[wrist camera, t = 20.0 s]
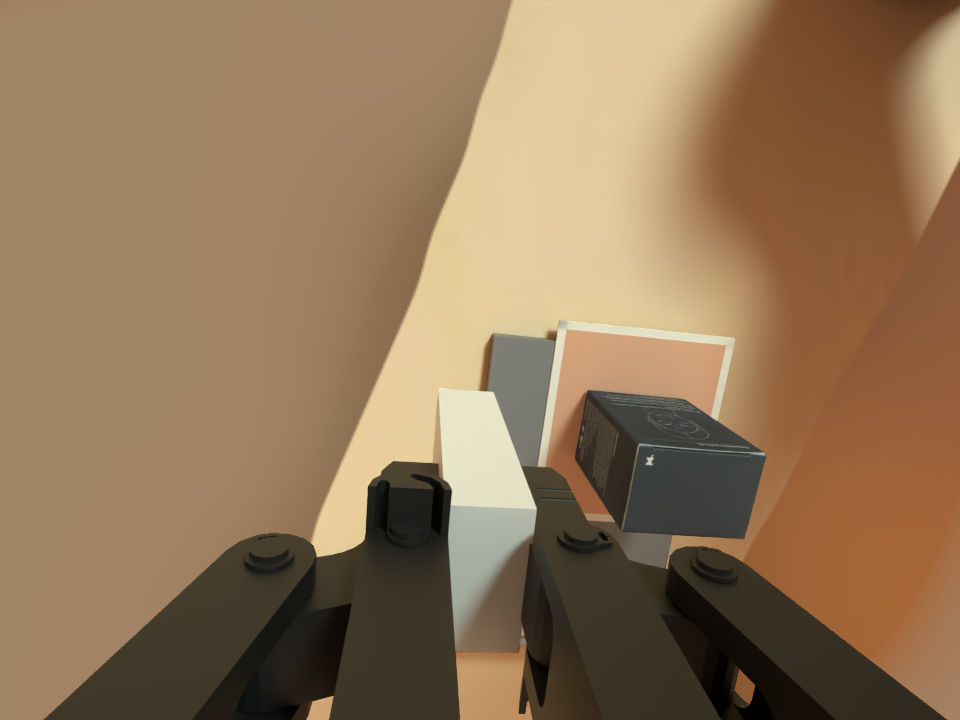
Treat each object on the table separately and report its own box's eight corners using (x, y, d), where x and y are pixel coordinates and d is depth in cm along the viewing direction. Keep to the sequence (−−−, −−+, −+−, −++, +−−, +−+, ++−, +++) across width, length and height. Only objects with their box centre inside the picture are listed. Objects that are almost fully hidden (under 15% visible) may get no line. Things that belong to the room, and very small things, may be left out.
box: (572, 460, 43) (619, 534, 33) (585, 387, 42) (637, 441, 32) (672, 468, 44) (747, 543, 34) (687, 397, 43) (770, 453, 33)
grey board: (727, 335, 43) (757, 346, 39) (663, 631, 49) (684, 666, 45) (495, 311, 41) (503, 320, 37) (457, 623, 47) (460, 660, 43)
